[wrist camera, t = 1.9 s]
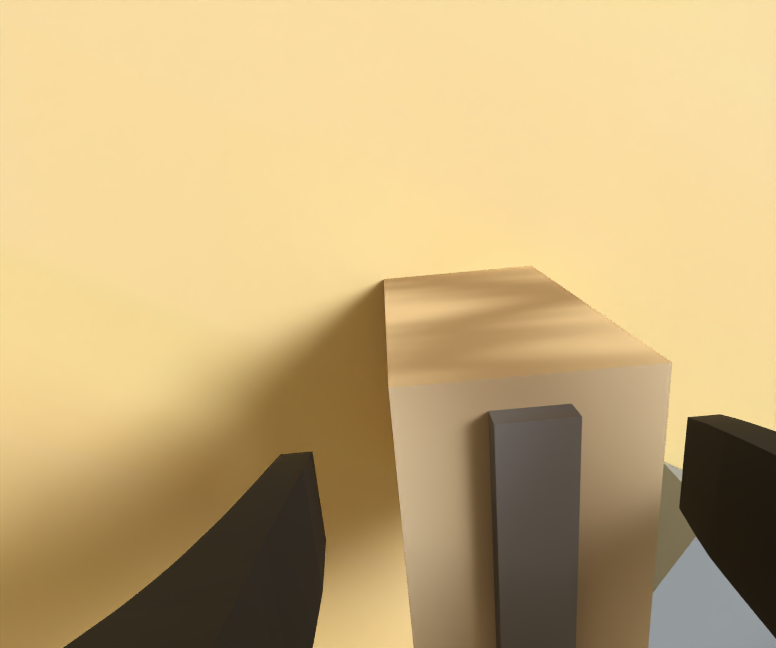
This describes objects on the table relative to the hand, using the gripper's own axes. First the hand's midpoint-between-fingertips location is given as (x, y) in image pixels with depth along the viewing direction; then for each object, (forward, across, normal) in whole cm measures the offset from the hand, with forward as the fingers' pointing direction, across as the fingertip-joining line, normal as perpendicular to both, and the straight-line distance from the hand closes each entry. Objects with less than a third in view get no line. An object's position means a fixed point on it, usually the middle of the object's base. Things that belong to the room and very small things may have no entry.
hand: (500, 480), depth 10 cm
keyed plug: (+5, 0, 0) cm, 5 cm away
